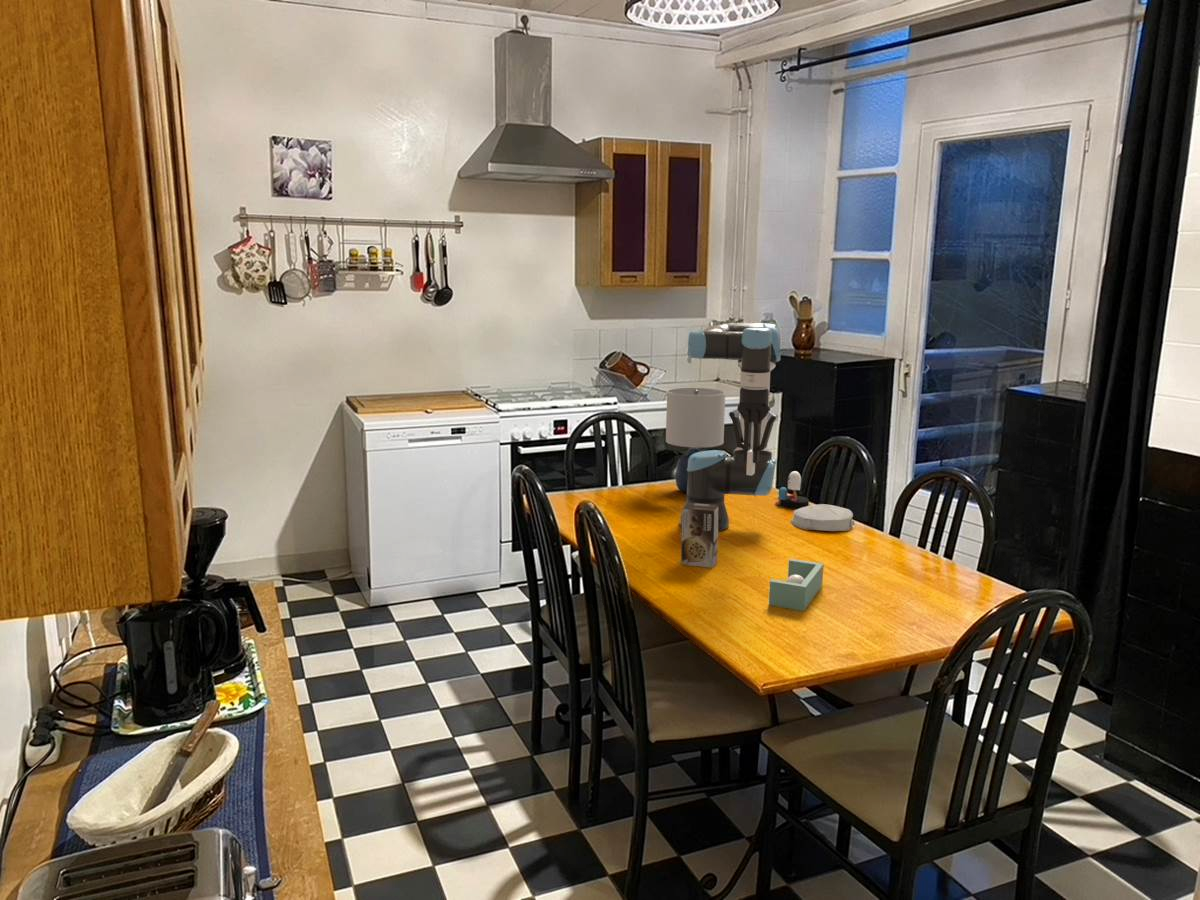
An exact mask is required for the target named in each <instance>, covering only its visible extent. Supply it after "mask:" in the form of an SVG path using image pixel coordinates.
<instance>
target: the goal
mask: <svg viewBox="0 0 1200 900" xmlns="http://www.w3.org/2000/svg"><path fill="white" fill-rule="evenodd" d="M787 570H788V571H787V578H788V577H790V576H791V575H800V576H802V577H803V578H804V581H803V582H802V583H801V584H797V583H791V582H786V580H778V579H772V578H771V580H770V581H769V593H768V594H769V598H768V606H771V607H772V606H773V607H777V608H783V609H789V610H795V611H801V612H805V610H806V609H807V608H808V606H809V605H811V602H812V601H813V600H814V599H815V597H816V595H817V594H818V593H819V591H820V590H821V589H822V587H823V579H824V563H821V562H815V561H807V560H802V559H801V560H800V559H795V558H790V559H789V560H788V569H787Z"/></svg>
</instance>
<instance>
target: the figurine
mask: <svg viewBox="0 0 1200 900" xmlns="http://www.w3.org/2000/svg"><path fill="white" fill-rule="evenodd" d="M801 483H802V477H801V474H800V473H799V472H798V471H796V470H794V471H791V472H790V473H789V475H788V476H787V488H786V487H784V486H782V487H780V488H779V489H778V496H777V499H778V501H775V502H774V504H775V505H777V506H780V507H782V508H785V509H790V510H797V509H800V508H802V507H807V506H810V500H809V498H807V497H805V496H801V495H797V494H798V493H797V491H800V490H801ZM788 490H792V494H790V495H788Z"/></svg>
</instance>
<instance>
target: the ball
mask: <svg viewBox="0 0 1200 900" xmlns="http://www.w3.org/2000/svg"><path fill="white" fill-rule="evenodd" d="M803 581H804V578H803V577H802V576H800V575H791V576H790V577H788V576H787V579H786V580H785V582H791V583H797V584H801V583H802V582H803Z"/></svg>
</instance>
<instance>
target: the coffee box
mask: <svg viewBox="0 0 1200 900" xmlns="http://www.w3.org/2000/svg"><path fill="white" fill-rule="evenodd" d="M685 504H686V503H685ZM685 504H684V506H683V507H682V508H681V515H682V526H681V555H680V556H681V557H680V558H681V559H680V560H681V561H680V565H682V566H692V567H702V568H710V569H713V568H714V567H716V565H717V563H718V559H719V558H718V555H719V554H718V552H719V550H718V549H719V531H718V524H719V505H713V504H702V503H689V502H688V503H687V504H686V505H685Z"/></svg>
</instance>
